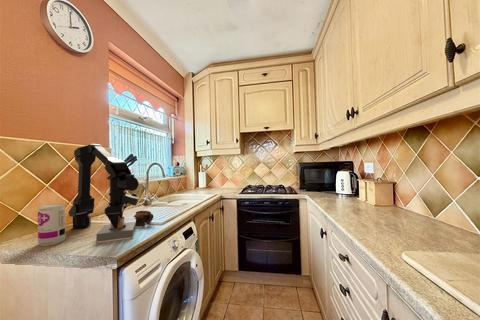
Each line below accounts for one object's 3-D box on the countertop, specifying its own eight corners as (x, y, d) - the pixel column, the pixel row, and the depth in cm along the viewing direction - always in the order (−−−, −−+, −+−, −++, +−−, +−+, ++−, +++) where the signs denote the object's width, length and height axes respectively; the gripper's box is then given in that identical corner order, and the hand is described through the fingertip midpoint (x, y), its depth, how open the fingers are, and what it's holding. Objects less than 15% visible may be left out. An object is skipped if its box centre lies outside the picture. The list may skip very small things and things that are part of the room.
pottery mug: (127, 228, 104) (130, 211, 108) (141, 231, 111) (144, 216, 115) (146, 224, 100) (148, 207, 104) (159, 227, 108) (161, 211, 112)
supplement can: (46, 248, 80) (45, 208, 80) (33, 245, 82) (33, 207, 82) (70, 240, 87) (69, 204, 87) (57, 238, 90) (57, 203, 90)
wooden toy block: (110, 236, 89) (110, 220, 89) (113, 233, 94) (112, 217, 94) (122, 235, 91) (122, 219, 91) (124, 231, 95) (124, 216, 95)
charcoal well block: (96, 242, 84) (96, 234, 84) (104, 232, 96) (104, 225, 96) (132, 238, 88) (132, 229, 88) (135, 228, 101) (135, 221, 101)
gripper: (135, 191, 86) (135, 229, 86) (139, 186, 104) (139, 217, 104) (104, 193, 82) (104, 232, 82) (113, 187, 100) (114, 220, 100)
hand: (117, 225), depth 92 cm, fingers open, 9 cm apart
